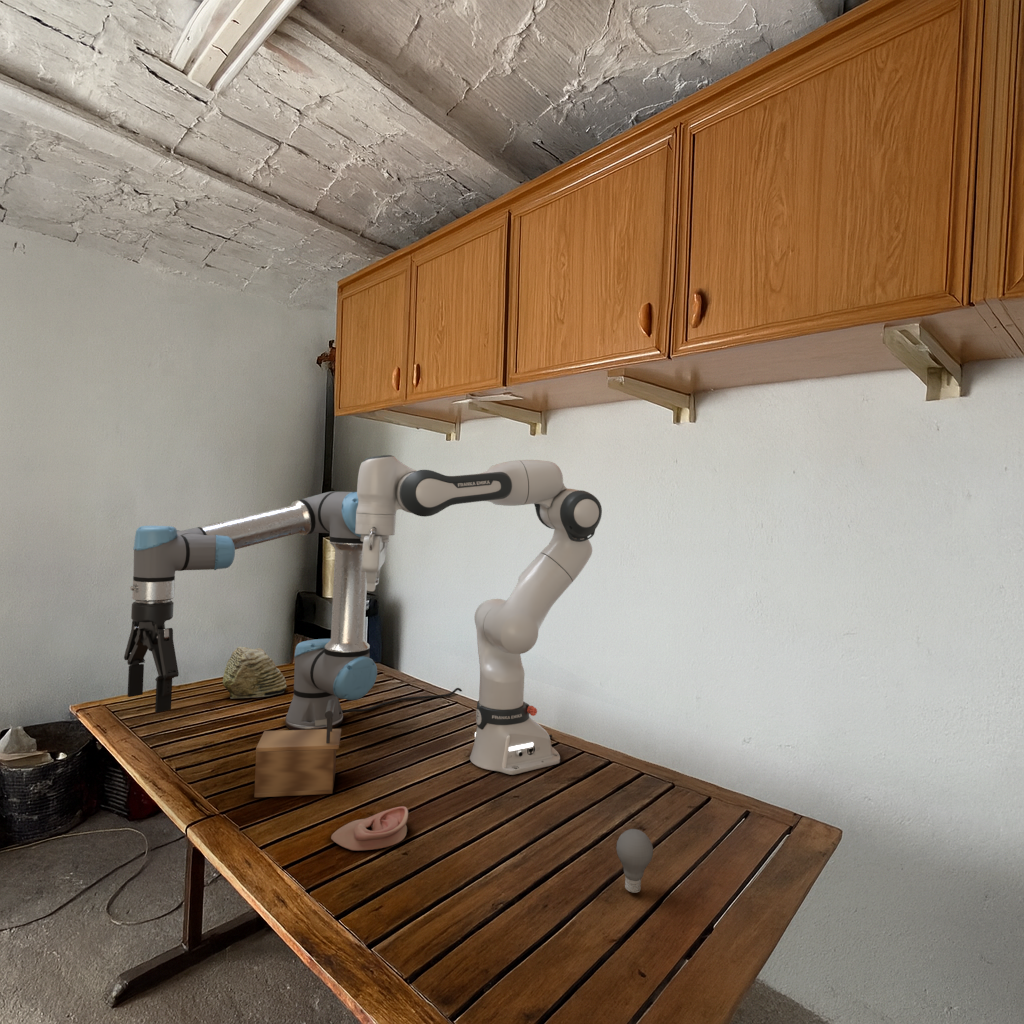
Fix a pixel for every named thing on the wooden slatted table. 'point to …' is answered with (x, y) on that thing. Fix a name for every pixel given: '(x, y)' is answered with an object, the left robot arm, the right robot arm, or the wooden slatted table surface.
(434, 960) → the wooden slatted table surface
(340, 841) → the anatomical model
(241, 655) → the fossil
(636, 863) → the light bulb
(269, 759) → the chest
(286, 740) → the lid
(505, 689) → the right robot arm
